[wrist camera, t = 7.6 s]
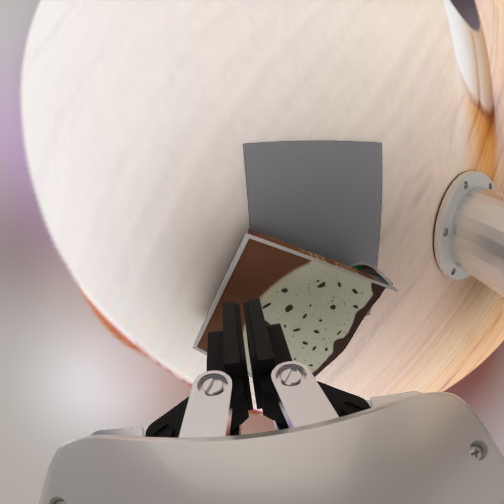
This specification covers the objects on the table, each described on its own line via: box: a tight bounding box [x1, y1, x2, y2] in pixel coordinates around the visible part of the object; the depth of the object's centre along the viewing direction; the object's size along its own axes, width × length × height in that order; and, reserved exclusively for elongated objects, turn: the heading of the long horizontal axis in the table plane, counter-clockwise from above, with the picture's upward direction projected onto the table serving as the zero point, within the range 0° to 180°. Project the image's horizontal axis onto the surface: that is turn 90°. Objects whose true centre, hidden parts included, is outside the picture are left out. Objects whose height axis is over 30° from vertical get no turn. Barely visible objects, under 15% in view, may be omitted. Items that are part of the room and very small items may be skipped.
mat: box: [243, 141, 382, 315], centre depth 21 cm, size 11×16×1 cm
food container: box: [193, 229, 398, 378], centre depth 20 cm, size 12×6×10 cm
